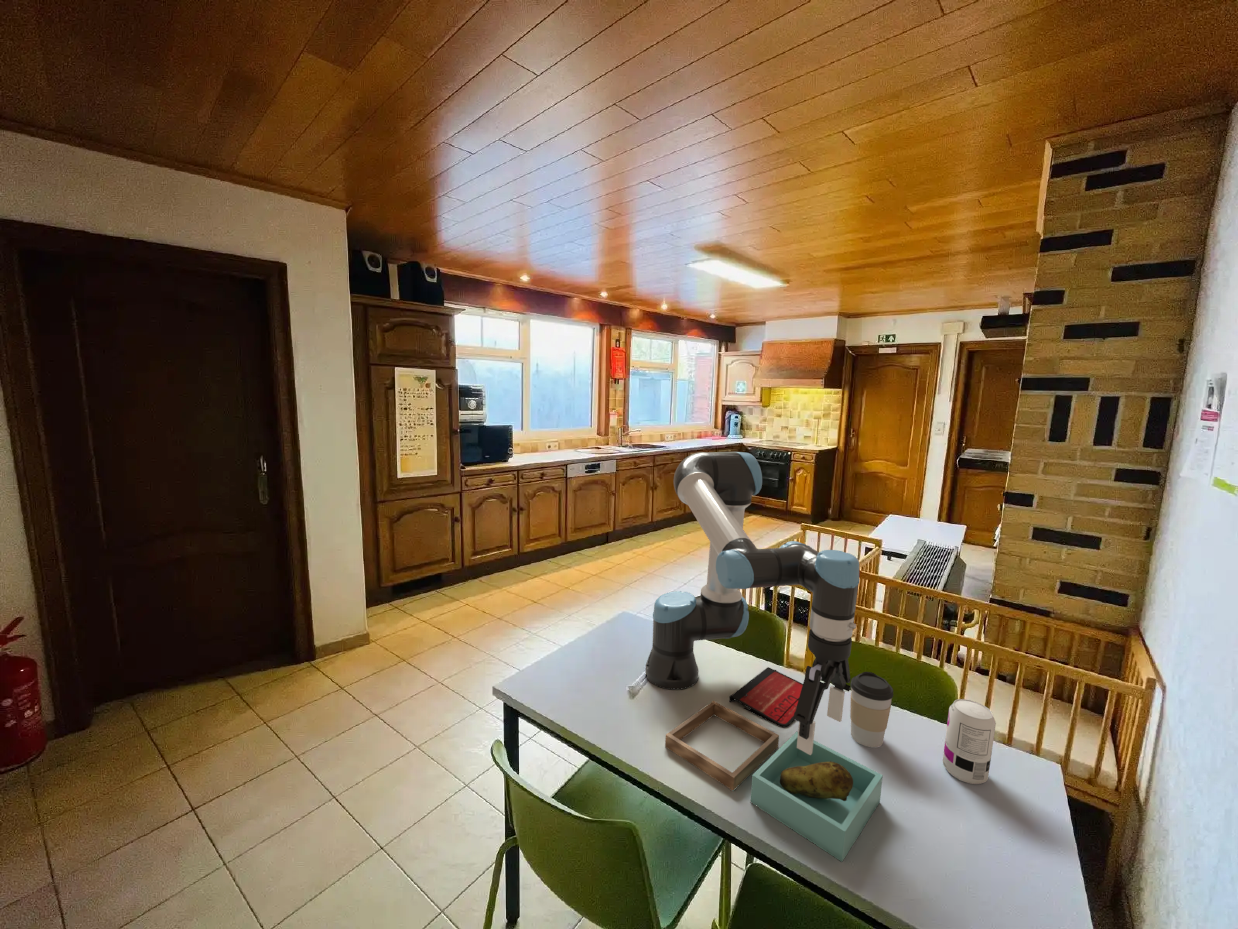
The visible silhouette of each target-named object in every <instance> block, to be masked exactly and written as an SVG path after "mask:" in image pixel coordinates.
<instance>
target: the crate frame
mask: <svg viewBox="0 0 1238 929" xmlns="http://www.w3.org/2000/svg"><path fill="white" fill-rule="evenodd" d="M713 716H715V717H717V718H719V719H720V720H723V721H724V722H726V723H728V724H730V725H731V726H733V727H735V728H737V729H739V730H741V731H742V732H745V733H746V734H748V735H750V736H752V737H754V738H755V739H757V740H759V741H761V742H763V744H762V745H761V746H760V747H758V748H757V749H756V750H755V751H754V752H753V753H752V754H751V755H750V756H749V757H748V758H746V760H744V762H742V763H741V764H740V765H739V766H738V767H736V769H735V770H733V771H730V770H729V769H727V768H725V767H724V766H722V765H721V764H720V763H718V762H716V761H714V760H713V759H712V758H710V757H709V756H706V755H704V754H703V753H702V752H700V751H698V750H697V749H695V748H694V747H692V746H691V745H689V744H687V743H686V742H684V741H682V739H684V738H685V737H687V736H688V735H689V734H690V733H692V732H693V731H695V730H696V729H697V728H698V727H700V726H701V725H702V724H704V723H705V722H707V721H708V720H709V719H711V718H712V717H713ZM779 740H780V734H778V733H776V732H774V731H772V730H770V729H768V728H767V727H765V726H763V725H761V724H759V723H757V722H755V721H754V720H752V719H750V718H748V717H746V716H744V715H742V714H740V713H738V712H736V711H734V710H732V709H730V708H729V707H727V706H724V705H723V704H721V703H719V702H717V701H716V700H712V701H711V702H709V703H708V704H707V705H705V706H703V707H702V708H701V709H699V710H698V711H697V712H696V713H694V714H693V715H691V716H690V717H688V718H686V719H685V720H684V721H683V722H681V723H680V724H678V725H677V726H676V727H674V728H673V729H671V730H670V731H669V732H667V733H666V734H665V740H664V741H665V743H664V746H665V748H667V749H668V750H670V751H671V752H673V753H674V754H676V755H677V756H679V757H680V758H681V759H683V760H685V761H686V762H687V763H690V764H691V765H692V766H694V767H695V768H697V769H699V770H700V771H701V772H703V773H705V774H706V775H708V776H709V777H711V778H712V779H713V780H716V781H717V782H718V783H720V784H722V786H725V787H726V788H727V789H729V790H731V791H732V790H734V789H735V788H736V787H737V788H738V787H739V786H740V785H741V784H742V783H743V782H744V781H745V780H746V779H747V778H749V776H750V775H752V773H753V772H755V770H756V769H757V768H759V767H760V766H761V764H762V763H764V761H765V760H767V759H769V758H770V757H771V756H772V755H773V754H774V753H775V751H777V750H778V748H779V746H780V745H779V743H780V741H779ZM738 785H739V786H738ZM737 788H736V789H737ZM734 791H735V790H734Z"/></svg>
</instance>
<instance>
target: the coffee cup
mask: <svg viewBox="0 0 1238 929" xmlns="http://www.w3.org/2000/svg"><path fill="white" fill-rule="evenodd" d="M849 686H850V690H851V691H850V710H849V711H850V715H849V716H850V718H849V719H850V736H851V738H852V739H853V740H854V741H855V742H856V743H857V744H860V745H861V746H864V747H868V748H880V747H881V746H882V745H883V744H884V739H885V734H886V730H887V727H888V723H889V718H890V712H891V708H892V699H893V697H894V688H893V687H892V686H891V684H889V682H888V681H887V680H886V679H885V678H883V677H881V676H879V675H877V674H876V673H874V672H871V671H863V672H861V673H859V674H857V675H856V676H853V677H852V678H851V679H850V683H849Z"/></svg>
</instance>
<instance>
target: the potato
mask: <svg viewBox="0 0 1238 929" xmlns="http://www.w3.org/2000/svg"><path fill="white" fill-rule="evenodd" d="M780 784H781V786H782V787H783V788H784V789H785V790H786V791H788V792H790V793H792V794H797V793H799V794H801V795H804V796H807V797H811V798H817V799H829V798H831V799H841V800H843V801H846V800H847V796H848V795H849V792H850V791H851V789H852V787H853V778H852V776H851V774H850V773H849V772H848V771H847V769H846V768H844V767H843V766H842V765H840V764H838V763H835V762H831V761H830V762H820V763H815V764H811V765H808V766H797V767H791V768H787V769H785V770H783V771H782V772H781V776H780Z"/></svg>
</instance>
